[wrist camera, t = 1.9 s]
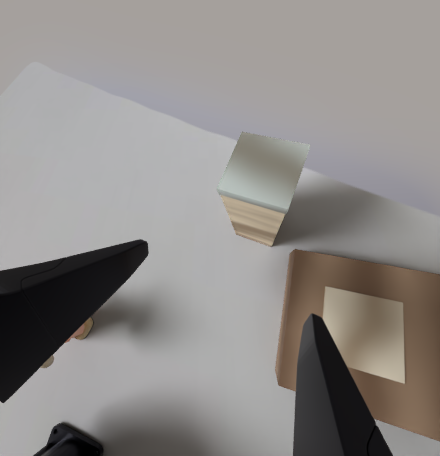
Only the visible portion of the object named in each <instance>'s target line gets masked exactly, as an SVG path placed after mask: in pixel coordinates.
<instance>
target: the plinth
mask: <svg viewBox="0 0 440 456" xmlns="http://www.w3.org/2000/svg"><path fill="white" fill-rule="evenodd" d="M311 313H314V314H316V315H318V316H320V317H322V319H323V320H324V322H325V324H326V326H327V328H328V330H329V332H330V334H331V336H332V338H333V340H334V342H335V344H336V346H337V348H338V350H339V352H340V354H341V356H342V358H343V359H344V361H345V363H346V365H347V367H348V369H349V371H350V373H351V375H352V377H353V379H354V381H355V383H356V385H357V387H358V389H359V391H360V393H361V395H362V397H363V399H364V401H365V403H366V404H367V406H368V408H369V410H370V412H371V414H372V416H373V418H374V419H377V420H380V421H382V422H385V423H388V424H391V425H394V426H397V427H400V428H403V429H405V430H408V431H411V432H414V433H417V434H420V435H423V436H426V437H429V438H431V439H434V440H437V441H440V274H434V273H428V272H422V271H417V270H411V269H405V268H400V267H394V266H388V265H383V264H377V263H371V262H366V261H360V260H354V259H348V258H343V257H337V256H331V255H326V254H320V253H314V252H309V251H303V250H297V249H295V250H293V251H292V252H291V253H290V257H289V264H288V272H287V280H286V288H285V296H284V304H283V312H282V320H281V328H280V336H279V344H278V352H277V359H276V367H275V371H276V376H277V380H278V385H279V386H281V387H284V388H287V389H290V390H293V391H296V375H297V360H298V354H299V348H300V341H301V335H302V329H303V325H304V323H305V321H306V320H307V318H308V317H309V315H310V314H311Z"/></svg>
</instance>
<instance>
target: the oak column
mask: <svg viewBox="0 0 440 456" xmlns="http://www.w3.org/2000/svg"><path fill="white" fill-rule="evenodd" d="M309 148H310V145H308V144H303V143H298V142H293V141H287V140H282V139H277V138H271V137H266V136H261V135H256V134H250V133H245V132H242V133H241V135H240V137H239V140H238V142H237V144H236V146H235V149H234V151H233V153H232V155H231V158H230V160H229V162H228V165H227V167H226V169H225V171H224V174H223V176H222V178H221V180H220V183H219V185H218V187H217V191H218V193H219V195H221V198H222V200H223V203H224V205H225V208H226V210H227V213H228V215H229V218H230V220H231V222H232V225H233V227H234V230H235V232H236V235H239V236H242V237H245V238H248V239H250V240H253V241H256V242H259V243H262V244H264V245H267V246H270V247H271V246H272V244H273V242H274V239H275V237H276V235H277V232H278V230H279V228H280V225H281V223H282V221H283V218H284V216H285V214H287V211H288V209H289V206H290V203H291V200H292V197H293V195H294V192H295V189H296V186H297V183H298V180H299V177H300V174H301V171H302V168H303V166H304V163H305V160H306V157H307V154H308V151H309Z"/></svg>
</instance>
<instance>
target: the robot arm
mask: <svg viewBox="0 0 440 456" xmlns="http://www.w3.org/2000/svg"><path fill="white" fill-rule="evenodd" d="M147 256H148V243H147V242H146V241H144V240H141V239H140V240H135V241H131V242H127V243H123V244H119V245H115V246H110V247H106V248H102V249H98V250H94V251H90V252H86V253H82V254H77V255H73V256H69V257H67V258H66V257H65V258H61V259H57V260H52V261H48V262H43V263H39V264H34V265H28V266H23V267H18V268H13V269H7V270H2V271H0V401H1V402H2V403H4V402H5V401H7V400H8V399H9V398H10V397H11V396H12V395H13V394H14V393H15V392H16V391H17V390H18V389H19V388H20V387H21V386H22V385H23V384H24V383H25V382H26V381H27V380H28V379H29V378H30V377H31V376H32V375H33V374H34V373H35V372H36V371H37V370H38V369H39V368H40V367H41V366H42V365H43V364H44V363H45V362H46V361H47V360H48V359H49V358H50V357H51V356H52V355H53V354H54V353H55V352H56V351H57V350H58V349H59V347H61V346H62V345H63V344H64V343H65V342H66V341H67V340H68V339H69V338H70V337H71V336H72V335H73V334H74V333H75V332H76V331H77V330H78V329H79V328H80V327H81V326H82V325H83V324H84V323H85V322H86V321H87V320H88V319H89V318H90V317H91V316H92V315H93V314H94V313H95V312H96V311H97V310H98V309H99V308H100V307H101V306H102V305H103V304H104V303H105V302H106V301H107V300H108V299H109V298H110V297H111V296H112V295H113V294H114V293H115V292H116V291H117V290H118V289H119V288H120V287H121V286H122V285H123V284H124V283H125V282H126V281H127V280H128V279H129V278H130V277H131V275H132V274H133V273H134V272H135V271H136V269H137V268H138V267H139V266H140V265H141V263H142V262H143V261H144V260H145V258H146V257H147ZM97 452H98V453H97ZM102 454H103V447H102V446H101V445H100V444H98V443H96V442H95V441H93V440H91V439H89V438H87V437H85V436H83V435H81V434H80V433H78V432H76V431H74V430H72V429H70V428H68V427H67V426H65V425H63V424H61V423H59V424H57V425H56V426H54V427H53V429H52V431H51V434H50V437H49V440H48V443H47V445H46V446H45V447H44V448H42V449H41V450H40V451H39V452H37V453H36V454H35V455H33V456H102ZM293 456H393V455H392V453H391V451H390V449H389V447H388V445H387V443H386V441H385V440H384V438H383V436H382V434H381V432H380V430H379V428H378V426H377V425H376V422H375V420H374V418H373V416H372V414H371V412H370V410H369V408H368V406H367V404H366V403H365V401H364V399H363V397H362V395H361V393H360V391H359V389H358V387H357V385H356V383H355V381H354V379H353V377H352V375H351V373H350V371H349V369H348V367H347V365H346V363H345V361H344V359H343V358H342V356H341V354H340V352H339V350H338V348H337V346H336V344H335V342H334V340H333V338H332V336H331V334H330V332H329V330H328V328H327V326H326V324H325V322H324V320H323V319H322V317H320V316H318V315H316V314H314V313H311V314H310V315H309V317H308V318H307V320H306V321H305V323H304V325H303V329H302V335H301V341H300V348H299V354H298V360H297V375H296V398H295V422H294V445H293Z"/></svg>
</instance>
